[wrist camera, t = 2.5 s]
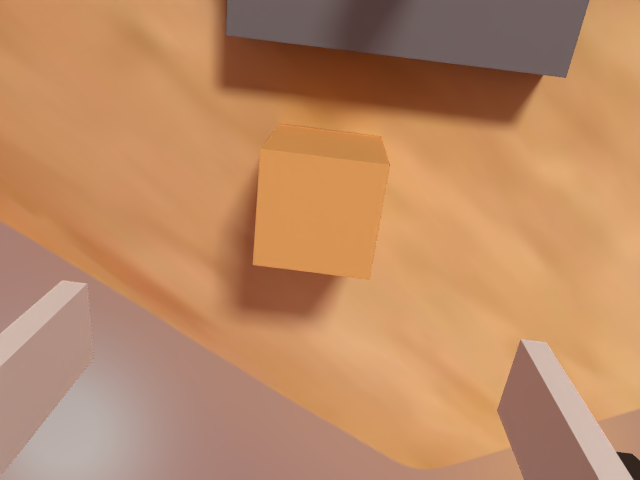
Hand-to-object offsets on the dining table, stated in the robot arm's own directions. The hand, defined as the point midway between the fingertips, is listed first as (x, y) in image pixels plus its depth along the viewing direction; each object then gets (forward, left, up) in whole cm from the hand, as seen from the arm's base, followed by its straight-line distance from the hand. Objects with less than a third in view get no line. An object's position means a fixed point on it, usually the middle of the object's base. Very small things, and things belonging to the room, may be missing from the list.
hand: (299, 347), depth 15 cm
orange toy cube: (0, 0, -18) cm, 18 cm away
